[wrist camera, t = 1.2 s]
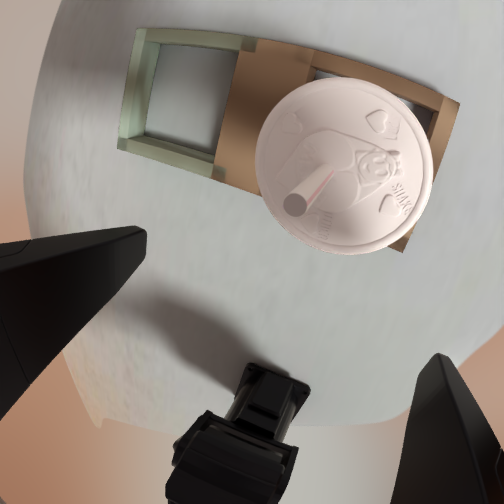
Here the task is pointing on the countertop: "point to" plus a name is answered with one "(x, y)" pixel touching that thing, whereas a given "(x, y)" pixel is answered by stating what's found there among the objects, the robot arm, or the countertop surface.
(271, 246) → the countertop surface
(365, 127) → the smoothie
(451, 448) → the robot arm
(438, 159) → the caddy
